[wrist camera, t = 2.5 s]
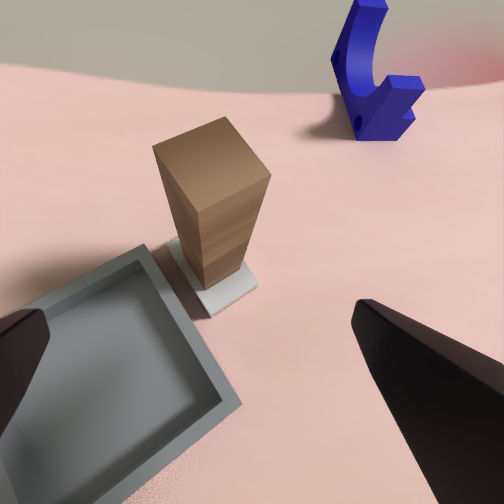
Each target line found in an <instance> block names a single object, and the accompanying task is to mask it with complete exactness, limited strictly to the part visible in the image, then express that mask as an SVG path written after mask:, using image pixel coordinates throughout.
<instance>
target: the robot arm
mask: <svg viewBox="0 0 504 504" xmlns="http://www.w3.org/2000/svg"><path fill="white" fill-rule="evenodd" d="M351 326H352V329H353V332H354V334H355V337H356V339H357V342H358V344H359V346H360V349H361V351H362V354H363V356H364V359H365V361H366V364H367V366H368V368H369V371H370V373H371V375H372V377H373V379H374V381H375V383H376V385H377V387H378V389H379V391H380V392H381V394H382V396H383V398H384V400H385V402H386V404H387V406H388V408H389V410H390V412H391V413H392V415H393V417H394V419H395V421H396V423H397V425H398V427H399V429H400V431H401V433H402V435H403V436H404V438H405V440H406V442H407V444H408V446H409V448H410V450H411V452H412V454H413V456H414V457H415V459H416V461H417V463H418V465H419V467H420V469H421V471H422V473H423V475H424V477H425V478H426V480H427V482H428V484H429V486H430V488H431V490H432V492H433V494H434V496H435V498H436V500H437V501H438V503H439V504H504V365H503V364H502V363H500V362H498V361H496V360H494V359H492V358H490V357H488V356H486V355H484V354H482V353H480V352H478V351H476V350H474V349H472V348H470V347H468V346H466V345H464V344H462V343H460V342H458V341H456V340H454V339H452V338H450V337H448V336H446V335H444V334H442V333H440V332H437V331H435V330H433V329H431V328H429V327H427V326H425V325H423V324H421V323H419V322H417V321H415V320H413V319H411V318H409V317H407V316H405V315H403V314H401V313H399V312H397V311H395V310H393V309H391V308H389V307H387V306H385V305H383V304H381V303H379V302H377V301H375V300H372V299H359V300H358V301H357V302H356V305H355V308H354V312H353V316H352V319H351ZM49 340H50V330H49V327H48V324H47V321H46V318H45V314H44V312H43V311H42V309H40V308H24V309H20V310H18V311H16V312H14V313H11V314H9V315H7V316H5V317H3V318H1V319H0V438H1V436H2V434H3V432H4V431H5V429H6V427H7V425H8V424H9V422H10V420H11V419H12V417H13V415H14V413H15V412H16V410H17V408H18V406H19V405H20V403H21V401H22V399H23V397H24V395H25V393H26V391H27V389H28V387H29V385H30V383H31V381H32V378H33V376H34V374H35V372H36V369H37V367H38V365H39V363H40V361H41V358H42V356H43V354H44V352H45V350H46V347H47V345H48V343H49Z"/></svg>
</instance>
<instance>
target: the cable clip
mask: <svg viewBox="0 0 504 504" xmlns="http://www.w3.org/2000/svg"><path fill="white" fill-rule="evenodd" d="M387 11H388V6H387V4H386V2H385V0H354V2H353V5H352V7H351V9H350V12H349V14H348V17H347V19H346V21H345V24H344V27H343V29H342V32H341V34H340V36H339V39H338V41H337V44H336V47H335V49H334V51H333V54H332V56H331V59H330V60H331V64H332V67H333V70H334V73H335V76H336V79H337V83H338V85H339V89H340V92H341V94H342V95H343V98H344V101H345V104H346V107H347V111H348V114H349V117H350V120H351V123H352V126H353V130H354V133H355V136H356V139H357V141H397V140H398V139H399V138H400V137H401V135H402V134H403V133H404V132H405V131H406V130H407V129H408V127H409V126H410V125H411V124H412V123H413V122H414V121H415V119H416V118H415V116H414V113H413V111H412V109H411V107H412V105H413V104H414V103H415V102H416V101H417V99H418V98H419V97H420V96H421V94H422V93H423V92H424V91H425V87H424V85H423V83H422V81H421V79H420V76H401V75H387V77H386V78H385V80H384V81H383V82H382V84H381V85H380V86H375V85H374V81H373V74H372V61H373V53H374V48H375V44H376V40H377V36H378V33H379V30H380V27H381V24H382V22H383V19H384V17H385V15H386V13H387Z"/></svg>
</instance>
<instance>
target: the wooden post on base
mask: <svg viewBox="0 0 504 504" xmlns="http://www.w3.org/2000/svg"><path fill="white" fill-rule="evenodd" d="M152 148H153V151H154V154H155V158H156V161H157V165H158V168H159V172H160V175H161V178H162V182H163V185H164V189H165V192H166V196H167V199H168V203H169V206H170V209H171V213H172V216H173V220H174V223H175V227H176V230H177V233H178V237H177V238H175V239H174V240H172V241H170V242H168V243H166V246H167V249H168V251H169V253H170V254H171V256H172V257H173V259H174V261H175V262H176V264H177V265H178V267H179V269H180V270H181V272H182V273H183V275H184V277H185V278H186V280H187V281H188V283H189V284H190V286H191V288H192V289H193V291H194V292H195V294H196V296H197V297H198V299H199V300H200V302H201V303H202V305H203V307H204V308H205V310H206V311H207V313H208V315H209V316H210V318H212V317H214V316H215V315H217V314H218V313H220V312H221V311H223V310H224V309H226V308H227V307H229V306H230V305H232V304H233V303H235V302H236V301H238V300H239V299H241V298H242V297H244V296H245V295H247V294H248V293H250V292H251V291H253V290H254V289H256V288H257V286H258V285H259V282H258V281H257V279H256V278H255V276H254V275H253V273H252V272H251V271H250V269H249V268H248V266H247V265H246V263H245V262H244V260H243V258H244V255H245V252H246V249H247V246H248V243H249V240H250V237H251V234H252V231H253V228H254V225H255V222H256V219H257V216H258V213H259V210H260V207H261V204H262V201H263V198H264V195H265V192H266V189H267V186H268V183H269V180H270V177H271V173H270V172H269V171H268V169H267V168H266V167H265V165H264V164H263V163H262V162H261V160H260V159H259V158H258V157H257V155H256V154H255V153H254V152H253V150H252V149H251V148H250V147H249V145H248V144H247V143H246V142H245V140H244V139H243V138H242V137H241V135H240V134H239V133H238V132H237V130H236V129H235V128H234V126H233V125H232V124H231V123H230V121H229V120H228V119H227V118H226V116H225V117H222V118H220V119H217V120H215V121H212V122H210V123H207V124H205V125H203V126H200V127H198V128H195V129H193V130H190V131H188V132H185V133H183V134H180V135H178V136H176V137H173V138H171V139H168V140H166V141H163V142H161V143H158V144H156V145H153V146H152Z"/></svg>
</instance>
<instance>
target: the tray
mask: <svg viewBox="0 0 504 504" xmlns="http://www.w3.org/2000/svg"><path fill="white" fill-rule="evenodd" d="M24 308H40V309H42V311H43V312H44V314H45V318H46V321H47V324H48V327H49V330H50V340H49V343H48V345H47V347H46V350H45V352H44V354H43V356H42V358H41V361H40V363H39V365H38V367H37V369H36V372H35V374H34V376H33V378H32V381H31V383H30V385H29V387H28V389H27V391H26V393H25V395H24V397H23V399H22V401H21V403H20V405H19V406H18V408H17V410H16V412H15V413H14V415H13V417H12V419H11V420H10V422H9V424H8V425H7V427H6V429H5V431H4V432H3V434H2V436H1V438H0V504H121V503H122V502H123V501H124V500H126V499H127V498H128V497H129V496H131V495H132V494H133V493H134V492H135V491H137V490H138V489H139V488H140V487H142V486H143V485H144V484H145V483H146V482H148V481H149V480H150V479H151V478H153V477H154V476H155V475H156V474H158V473H159V472H160V471H161V470H162V469H164V468H165V467H166V466H167V465H169V464H170V463H171V462H172V461H173V460H175V459H176V458H177V457H178V456H180V455H181V454H182V453H183V452H184V451H186V450H187V449H188V448H189V447H191V446H192V445H193V444H194V443H196V442H197V441H198V440H199V439H200V438H202V437H203V436H204V435H205V434H207V433H208V432H209V431H210V430H211V429H213V428H214V427H215V426H216V425H218V424H219V423H220V422H221V421H222V420H224V419H225V418H226V417H227V416H229V415H230V414H231V413H232V412H234V411H235V410H236V409H237V408H238V407H240V406H241V405H242V403H241V401H240V399H239V397H238V396H237V394H236V392H235V391H234V389H233V388H232V386H231V384H230V383H229V381H228V379H227V378H226V376H225V375H224V373H223V371H222V370H221V368H220V366H219V365H218V363H217V361H216V360H215V358H214V357H213V355H212V353H211V352H210V350H209V348H208V347H207V345H206V343H205V342H204V340H203V339H202V337H201V335H200V334H199V332H198V330H197V329H196V327H195V325H194V324H193V322H192V321H191V319H190V317H189V316H188V314H187V312H186V311H185V309H184V308H183V306H182V304H181V303H180V301H179V299H178V298H177V296H176V294H175V293H174V291H173V290H172V288H171V286H170V285H169V283H168V281H167V280H166V278H165V276H164V275H163V273H162V272H161V270H160V268H159V267H158V265H157V263H156V262H155V260H154V258H153V257H152V255H151V254H150V252H149V250H148V249H147V247H146V246H145V244H142V245H140V246H138V247H136V248H134V249H132V250H130V251H128V252H126V253H125V254H123V255H121V256H119V257H117V258H115V259H113V260H111V261H109V262H107V263H105V264H103V265H102V266H100V267H98V268H96V269H94V270H92V271H90V272H88V273H86V274H84V275H82V276H80V277H79V278H77V279H75V280H73V281H71V282H69V283H67V284H65V285H63V286H61V287H59V288H57V289H55V290H54V291H52V292H50V293H48V294H46V295H44V296H42V297H40V298H38V299H36V300H34V301H32V302H31V303H29V304H27V305H25V306H23V307H21V308H19V309H17V310H15V311H13V312H11V313H14V312H16V311H18V310H20V309H24ZM11 313H9V314H11ZM9 314H8V315H9ZM6 316H7V315H6ZM4 317H5V316H4ZM2 318H3V317H2ZM0 319H1V318H0Z"/></svg>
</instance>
